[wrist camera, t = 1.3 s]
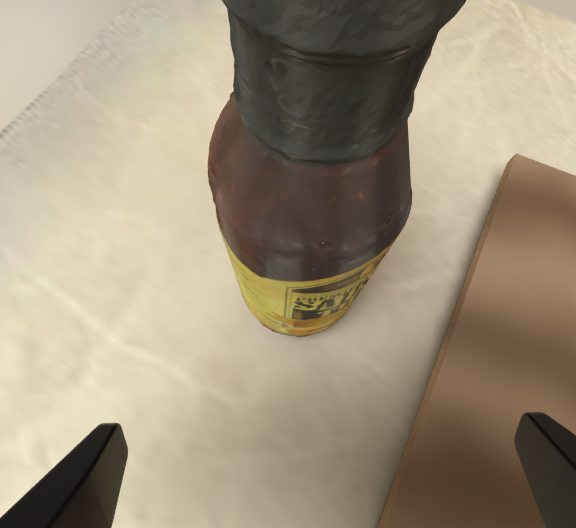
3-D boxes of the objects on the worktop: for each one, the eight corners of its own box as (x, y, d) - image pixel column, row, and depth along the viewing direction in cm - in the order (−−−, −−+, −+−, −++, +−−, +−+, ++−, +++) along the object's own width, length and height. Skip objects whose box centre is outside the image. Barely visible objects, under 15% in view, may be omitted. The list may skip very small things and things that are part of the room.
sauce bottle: (302, 363, 23) (362, 214, 4) (220, 288, 24) (-50, -112, 5) (377, 277, 24) (703, -155, 5) (296, 210, 25) (315, -336, 6)
